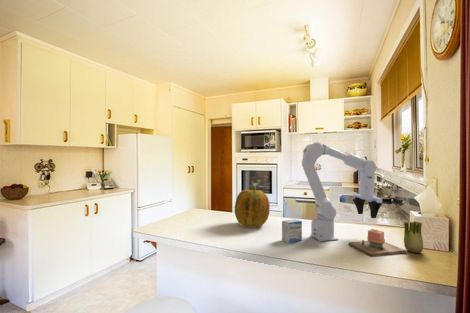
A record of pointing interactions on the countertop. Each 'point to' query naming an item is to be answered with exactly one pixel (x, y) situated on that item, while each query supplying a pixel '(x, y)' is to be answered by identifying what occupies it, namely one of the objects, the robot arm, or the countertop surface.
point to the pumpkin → (252, 207)
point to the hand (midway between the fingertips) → (366, 215)
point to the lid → (376, 236)
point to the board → (372, 251)
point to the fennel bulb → (413, 237)
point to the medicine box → (292, 230)
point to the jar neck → (375, 245)
